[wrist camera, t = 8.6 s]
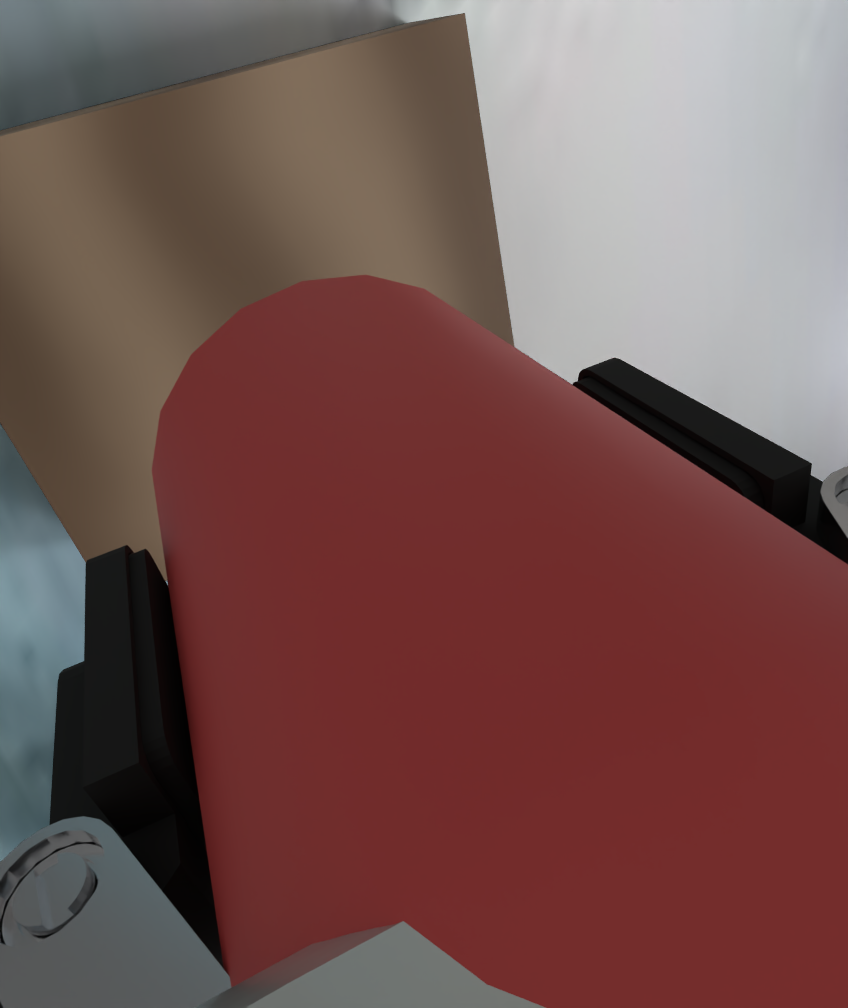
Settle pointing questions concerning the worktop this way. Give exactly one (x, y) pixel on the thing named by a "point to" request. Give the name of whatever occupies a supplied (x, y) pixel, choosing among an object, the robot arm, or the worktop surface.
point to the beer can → (496, 669)
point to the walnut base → (222, 240)
